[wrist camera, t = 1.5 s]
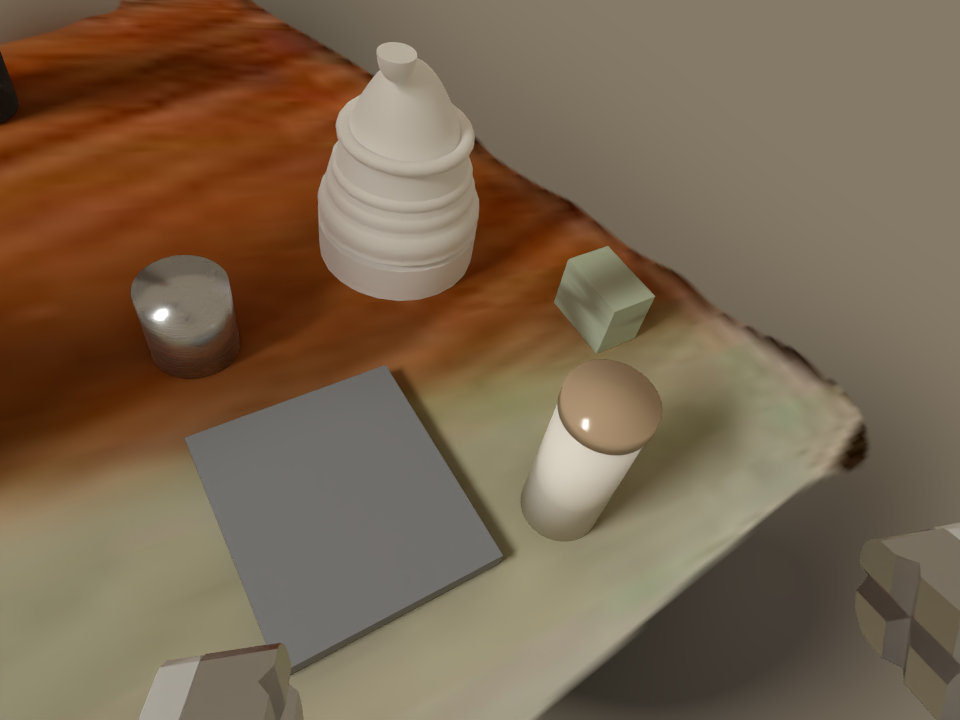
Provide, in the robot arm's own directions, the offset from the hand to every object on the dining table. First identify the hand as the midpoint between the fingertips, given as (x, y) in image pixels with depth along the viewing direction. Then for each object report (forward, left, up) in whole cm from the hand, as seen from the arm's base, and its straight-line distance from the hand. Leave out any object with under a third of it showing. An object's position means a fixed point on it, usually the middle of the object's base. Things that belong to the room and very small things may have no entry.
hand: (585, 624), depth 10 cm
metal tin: (-34, 0, -32) cm, 46 cm away
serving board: (-18, +4, -32) cm, 36 cm away
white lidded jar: (-11, +17, -32) cm, 37 cm away
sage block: (-24, +29, -32) cm, 49 cm away
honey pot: (-38, +18, -32) cm, 52 cm away
